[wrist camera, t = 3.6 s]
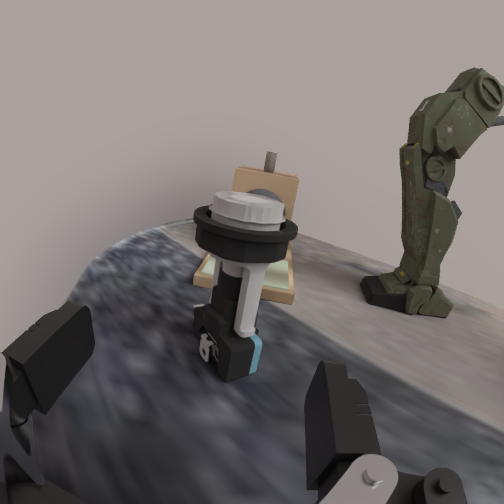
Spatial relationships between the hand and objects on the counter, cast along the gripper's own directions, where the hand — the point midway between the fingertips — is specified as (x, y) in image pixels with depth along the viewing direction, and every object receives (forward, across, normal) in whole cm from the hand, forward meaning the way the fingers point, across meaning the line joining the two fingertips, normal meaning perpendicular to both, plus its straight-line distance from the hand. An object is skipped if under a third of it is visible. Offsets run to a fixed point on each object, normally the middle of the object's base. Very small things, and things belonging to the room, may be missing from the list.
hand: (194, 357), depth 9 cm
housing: (+24, 0, +6) cm, 25 cm away
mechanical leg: (+21, -20, +6) cm, 29 cm away
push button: (+8, 0, +6) cm, 10 cm away
